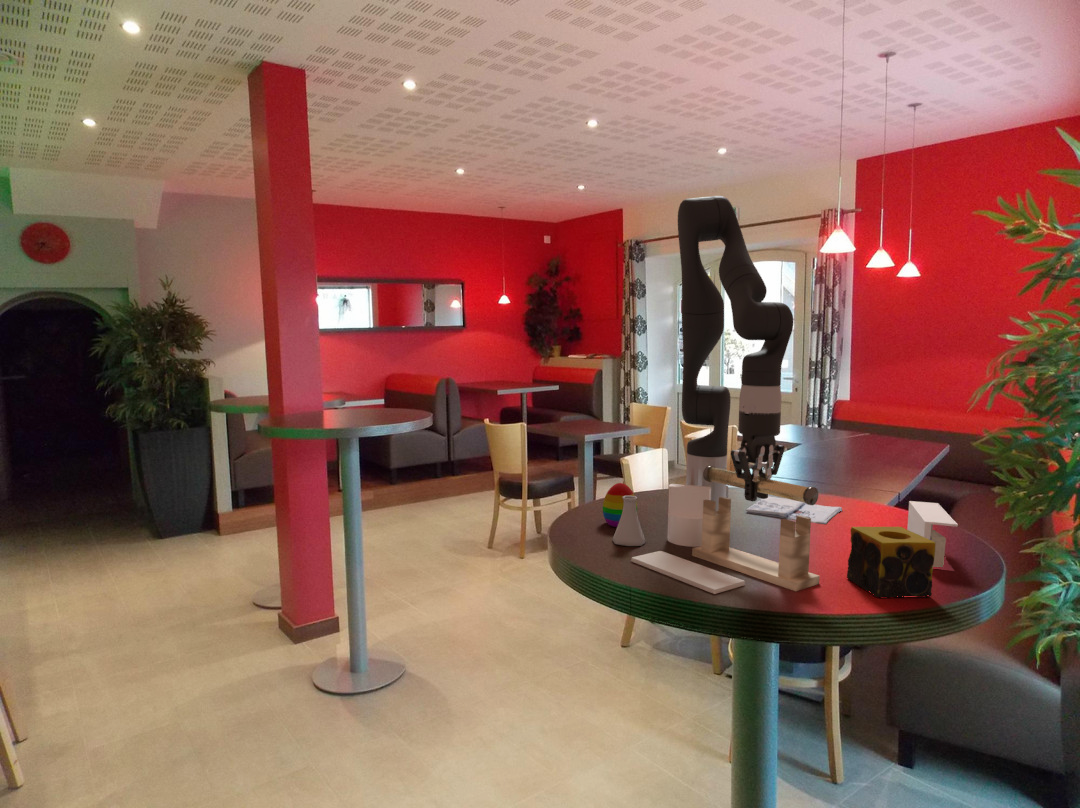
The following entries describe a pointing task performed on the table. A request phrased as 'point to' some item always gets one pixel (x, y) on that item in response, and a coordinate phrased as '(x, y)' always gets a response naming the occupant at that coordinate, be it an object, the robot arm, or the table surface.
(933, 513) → the white angled piece
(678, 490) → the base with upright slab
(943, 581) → the table surface
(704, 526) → the rail stand
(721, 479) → the brass rail
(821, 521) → the open book
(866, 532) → the yellow cube with hole
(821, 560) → the table surface
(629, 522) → the flask
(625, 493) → the decorative egg
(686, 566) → the grey mat
